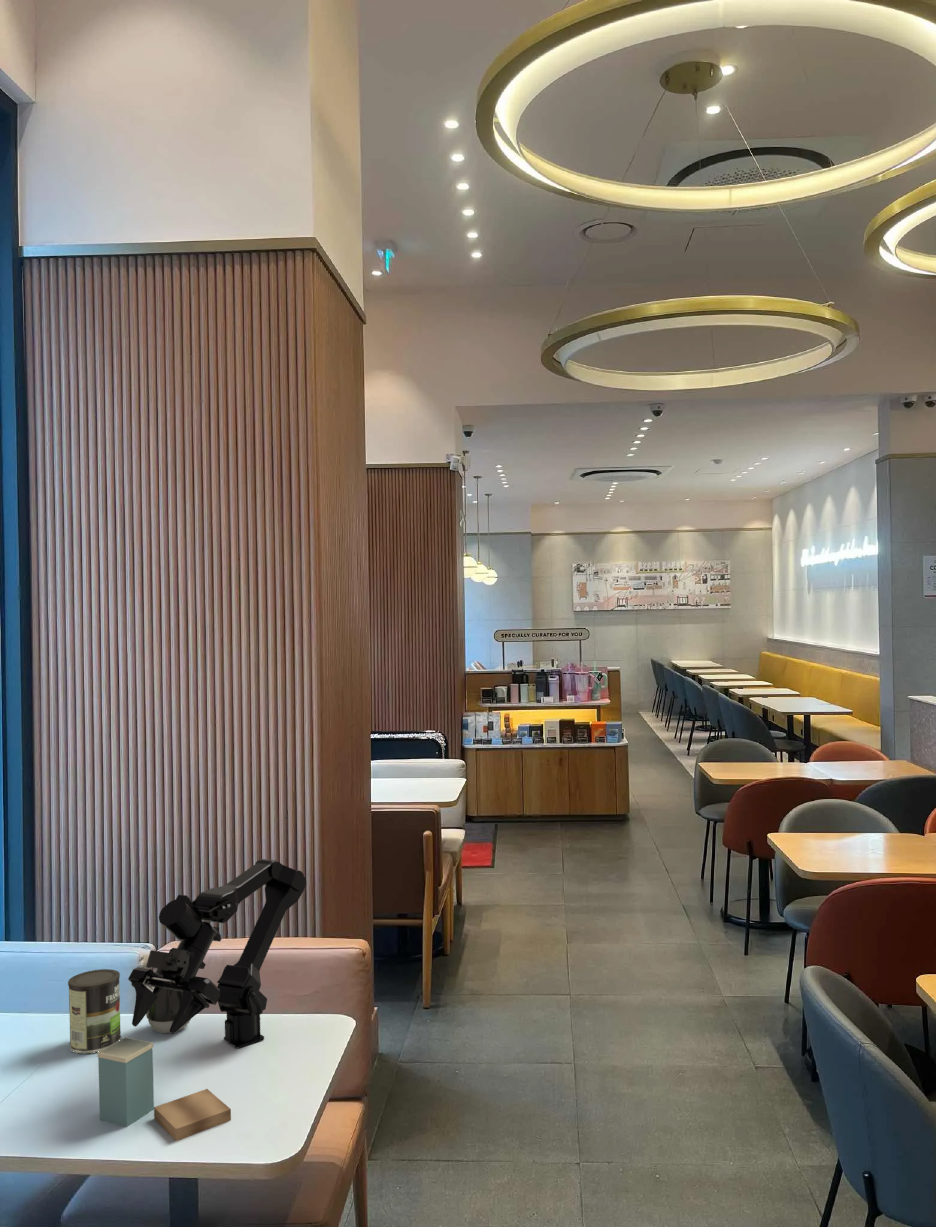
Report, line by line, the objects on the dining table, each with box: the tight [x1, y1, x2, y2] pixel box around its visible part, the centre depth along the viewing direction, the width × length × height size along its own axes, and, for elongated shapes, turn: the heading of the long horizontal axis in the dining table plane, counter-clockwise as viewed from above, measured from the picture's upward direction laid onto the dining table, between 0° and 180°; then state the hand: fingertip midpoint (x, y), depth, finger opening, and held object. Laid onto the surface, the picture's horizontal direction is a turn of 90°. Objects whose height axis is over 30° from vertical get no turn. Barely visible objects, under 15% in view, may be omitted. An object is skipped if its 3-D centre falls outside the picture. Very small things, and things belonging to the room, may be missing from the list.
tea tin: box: [97, 1037, 155, 1128], centre depth 168 cm, size 7×7×12 cm
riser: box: [153, 1088, 232, 1142], centre depth 166 cm, size 10×10×2 cm
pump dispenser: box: [145, 968, 192, 1034], centre depth 206 cm, size 10×10×15 cm
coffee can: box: [67, 968, 122, 1054], centre depth 199 cm, size 10×10×14 cm
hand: (152, 1029), depth 175 cm, fingers open, 9 cm apart
